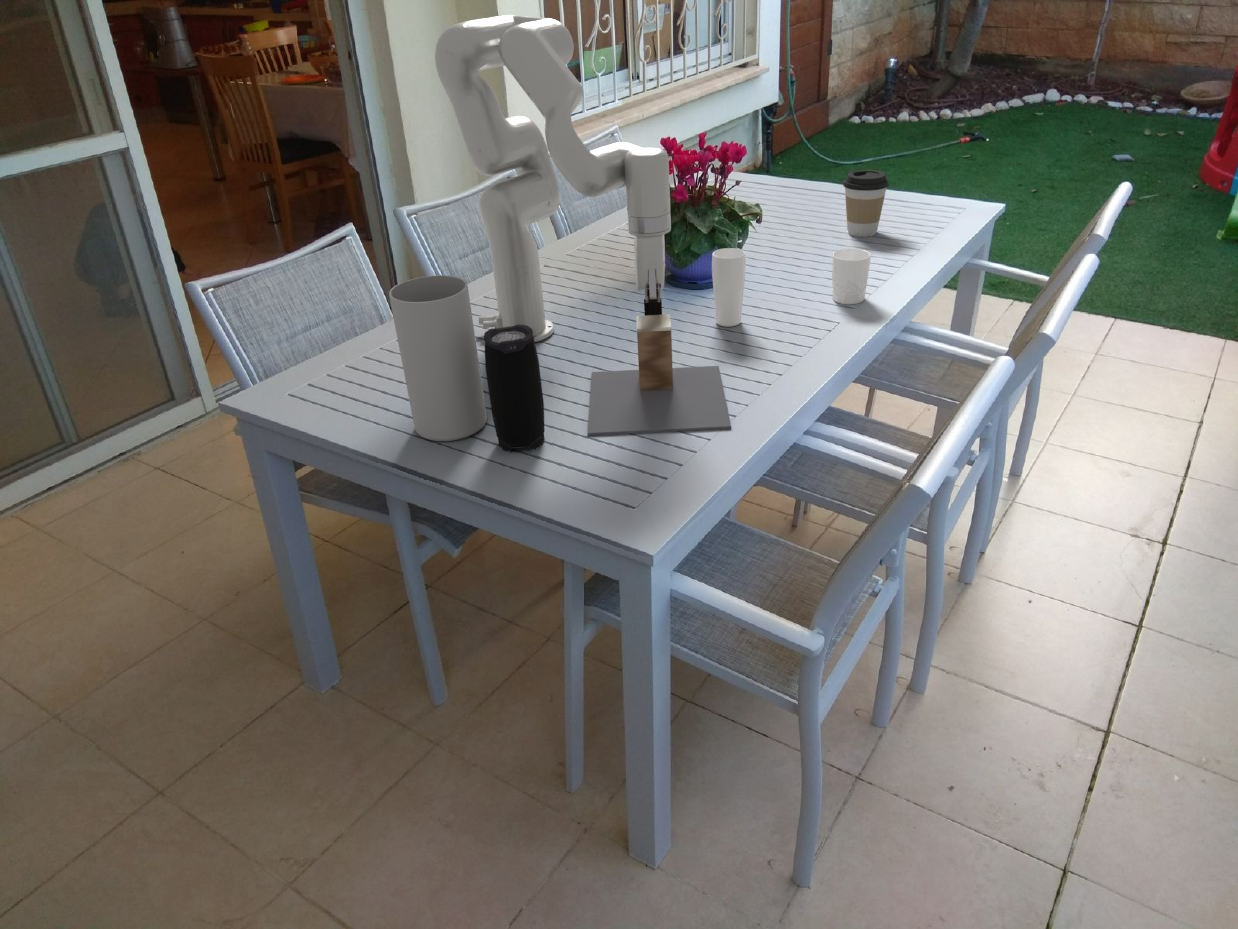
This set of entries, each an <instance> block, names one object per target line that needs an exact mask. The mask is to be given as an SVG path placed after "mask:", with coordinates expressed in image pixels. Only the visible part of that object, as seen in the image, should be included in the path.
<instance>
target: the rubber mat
mask: <svg viewBox="0 0 1238 929" xmlns="http://www.w3.org/2000/svg"><path fill="white" fill-rule="evenodd" d="M672 370H673V389H665V390H645V391H640V382H639V369H626V370H625V369H623V370H608V371H605V370H604V371H592V372H591V380H590V381H591V382H590V394H589V408H588V420H587V421H588V423H587V437H588V436H604V435H605V436H606V435H607V436H610V435H630V434H632V435H633V434H649V433H650V434H651V433H665V432H666V433H668V432H669V433H671V432H672V433H673V432H689V431H690V432H691V431H694V432H695V431H711V430H712V431H713V430H714V431H716V430H717V431H718V430H731V429H732V423H731V419H730V414H729V409H728V405H727V404H728V403H727V399H726V395H725V390H724V385H723V380H722V375H721V370H720V366H719V365H708V366H707V365H706V366H689V367H688V366H687V367H684V366H683V367H672Z"/></svg>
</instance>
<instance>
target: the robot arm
mask: <svg viewBox="0 0 1238 929" xmlns="http://www.w3.org/2000/svg"><path fill="white" fill-rule="evenodd" d="M435 46H436V47H435V54H434V60H435V61H434V63H435V68H436V71H437V75H438V78H439V80H440V82H441V84H442V86H443V90H445V93H446V95H447V97H448V99H449V101H450V102H451V105H452V107H453V110H454V111H453V112H454V113H455V116H456V119H457V123H458V126H459V129H460V131H461V136H462V138H463V140H464V144H465V146H466V149H467V152H468V156H469V157H470V160H471V161H470V162H471V163H472V165H473V168H474V169H475V170H476V171H477V172H478V173H479V174H480V175H482V176H486V177H489V176H496V175H497V176H498V175H500V174H504V173H507V172H510V171H513V170H514V172H515V174H516V176H513V177H510V178H507V179H504V180H501V181H498V182H495V183H493V184H491V185H490V186H489V187H487V188H486V189H485V190H484V191H483V193H482V194H481V196H480V200H479V206H478V207H479V214H480V216H481V217H480V218H481V220H482V223H483V226H484V230H485V233H486V236H487V240H488V244H489V251H490V259H491V264H492V265H491V266H492V272H493V279H494V288H495V289H494V290H495V295H496V296H495V297H496V303H497V313H493V315H478V323H479V324H478V325H480V326H483V329H489V328H490V329H491V328H495V329H497V328H504V327H510V326H515V325H518V324H520V325H527V326H529V327H530V328H531V329H532V331H533V337H534V341H535V343H537V342H541V341H543V340H546V339H548V338H550V336H551V335H553V333H554V332H555V331H554V328H555V326H554V324H553V322H552V321H551V320H548V319H546V315H545V314H546V313H545V305H544V304H545V303H544V295H543V286H542V276H541V275H542V274H541V265H540V264H541V263H540V257H539V256H540V255H539V250H538V246H537V243H536V241H535V239H534V237H533V236H532V235H531V233H530V231H529V230H528V226H531V225H533V224H535V223H537V222H539V221H542V220H544V219H548V218H549V217H552V216H553V215H554V214H555V213H556V212H557V211H558V209H559V207H560V203H561V192H560V188H559V183H558V179H557V177H556V176H557V175H556V174H555V170H554V167H553V164H554V165H555V166H556V168H557V170H559V173H561V175H562V176H563V177H564V179H565V180H566V181H567V182H568V184H570V186H571V188H573V189H574V190H575V191H576V192H578V193H579V194H580V195H582V196H584V197H587V198H589V197H590V198H595V197H599V196H602V195H605V194H607V193H609V192H612V191H615V190H618V189H622V188H625V194H626V211H627V212H626V214H627V228H628V229H627V231H628V234H630V235H631V236H634V240H633V243H634V250H633V251H634V265H635V284H636V290H637V291H638V292H641V291H644V299H643V305H644V306H643V307H644V308H643V309H644V316H648V315H663V303H662V297H661V291H662V290H663V289H664V288H665V272H666V271H665V269H666V250H665V249H666V248H665V244H666V243H665V235H666V234H669V233H670V232H671V231H672V230H671V229H672V224H671V219H672V218H671V193H670V190H671V189H670V188H671V187H670V164H669V162H670V161H669V155H668V153H667V152H666V150H664V149H663V148H658V147H642V146H639V145H636V144H634V143H630V142H626V141H616V142H613V143H609V144H606V145H603V146H600V147H597V148H593V149H591V150H589V149H588V147H587V146H586V145H585V143H584V142H583V141H582V139H581V138H580V137H579V135H578V134H577V132H576V130H575V127H574V126H573V121H572V113H573V112H574V111H575V110H576V109H577V107H578V106H579V104H580V102H581V101H582V99H583V96H584V89H583V86H582V84H581V83H580V82H579V80H578V79H577V78H576V76H575V75H574V74H573V71H571V70H570V69H569V67H568V66H567V65H568V64H569V63H570V62H571V60H572V58H573V55H574V51H575V50H574V49H575V47H574V46H575V45H574V40H573V37H572V35H571V33H570V31H569V29H568V28H567V27H566V26H565V25H564V24H563V23H562V22H560V21H559V20H556V19H553V18H552V17H551V18H550V17H537V16H526V15H515V14H504V15H496V16H491V17H485V18H477V19H471V20H465V21H462V22H458V23H455V24H452V25H451V26H449V27H448V28H446V29H445V30H444V31H443V32H442V33H441V34H440V36H439V37H438V39H437V43H436V45H435ZM499 67H500V68H501V67H505V68H506V69H507V70H508V71H509V73H510V74H511V76H512V77H513V78H514V79H515V81H516V82H517V83H518V85H519V86H520V87H521V88H522V90H523V91H524V93H525V94H526V96H528V98H529V100H530V101H531V102H532V103H533V104H534V106H535V107H536V109H537V110H538V111H539V113H540V114H541V115H542V117H543V119H544V134H545V135H544V136H545V137H544V136H543V133H542V131H541V130H540V128H539V127H538V125H537V124H536V123H535V122H534V121H533V120H532V119H530V118H529V117H527V116H524V115H512V116H508V117H505V115H504V114H503V111H502V110H501V106H500V101H499V99H498V96H497V94H496V93H495V90H494V89H493V88H492V87H491V84H489V83H488V82H487V81H486V79H484V78H483V77H482V76H481V75H480V73H481V72H482V71H486V70H490V69H497V68H499ZM552 162H553V164H552Z"/></svg>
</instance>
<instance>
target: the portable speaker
mask: <svg viewBox="0 0 1238 929" xmlns="http://www.w3.org/2000/svg"><path fill="white" fill-rule="evenodd" d="M483 341H484V363H485V366H484V367H485V374H486V382H487V388H488V395H489V396H488V397H489V402H490V403H489V404H490V411H491V417H492V420H493V425H494V430H495V434H496V435H495V436H496V437H497V441H498V446H499V448H501V450H503V451H506V452H511V450H513V449H522V448H529V449H530V450H537V449H538V448H540V447H541V446H543V444H544V442H545V404H544V395H543V394H544V393H543V387H542V378H541V369H540V362H539V355H538V351H537V347H536V342H535V341H534V337H533V331H532V329H531V328H530V327H529V326H527V325H520V324H518V325H515V326H510V327H504V328H497V329H495V327H493V328H490V329H488V330H486V331H485V332H484V335H483Z"/></svg>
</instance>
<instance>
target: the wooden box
mask: <svg viewBox="0 0 1238 929" xmlns="http://www.w3.org/2000/svg"><path fill="white" fill-rule="evenodd" d="M636 340H637V358H638V362H637V363H638V370H639V382H640V391H645V390H665V389H673V370H672V368H673V343H672V342H673V340H672V322H671V314H669V313H668V314H662V315H648V316H645V315H636Z"/></svg>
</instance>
